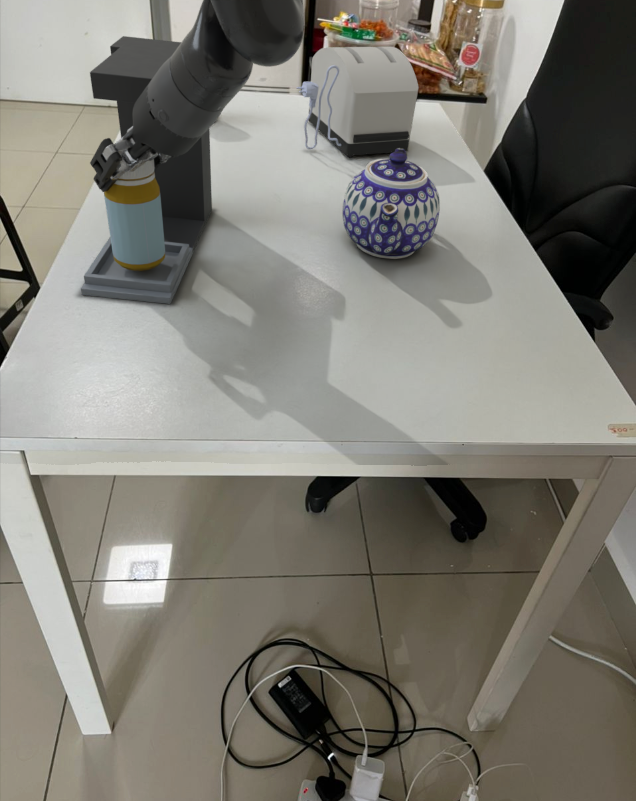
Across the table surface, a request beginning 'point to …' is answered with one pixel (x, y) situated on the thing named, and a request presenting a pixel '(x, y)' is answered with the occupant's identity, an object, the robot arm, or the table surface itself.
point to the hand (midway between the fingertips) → (121, 177)
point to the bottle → (136, 219)
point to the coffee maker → (177, 178)
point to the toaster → (362, 98)
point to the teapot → (391, 207)
